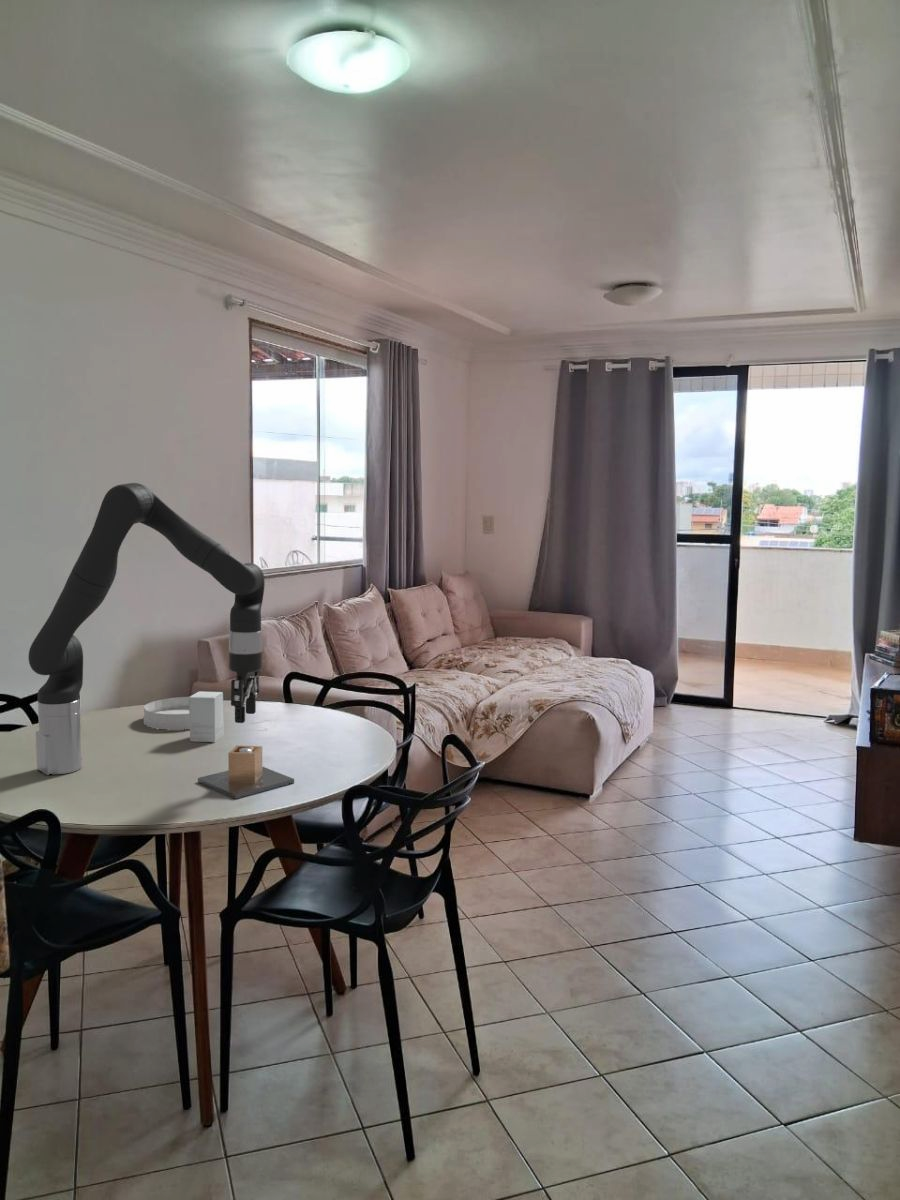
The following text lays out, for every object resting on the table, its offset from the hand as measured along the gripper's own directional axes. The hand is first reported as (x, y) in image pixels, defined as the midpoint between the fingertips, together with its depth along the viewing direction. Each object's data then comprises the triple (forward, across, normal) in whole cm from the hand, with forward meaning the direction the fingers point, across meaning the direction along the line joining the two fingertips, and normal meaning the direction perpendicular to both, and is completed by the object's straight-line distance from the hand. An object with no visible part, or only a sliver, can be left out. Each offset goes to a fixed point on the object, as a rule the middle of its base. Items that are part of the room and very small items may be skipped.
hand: (245, 717), depth 203 cm
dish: (+17, +53, +35) cm, 66 cm away
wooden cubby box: (+15, 0, 0) cm, 15 cm away
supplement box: (+16, +35, +21) cm, 44 cm away
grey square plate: (+16, 0, 0) cm, 16 cm away
